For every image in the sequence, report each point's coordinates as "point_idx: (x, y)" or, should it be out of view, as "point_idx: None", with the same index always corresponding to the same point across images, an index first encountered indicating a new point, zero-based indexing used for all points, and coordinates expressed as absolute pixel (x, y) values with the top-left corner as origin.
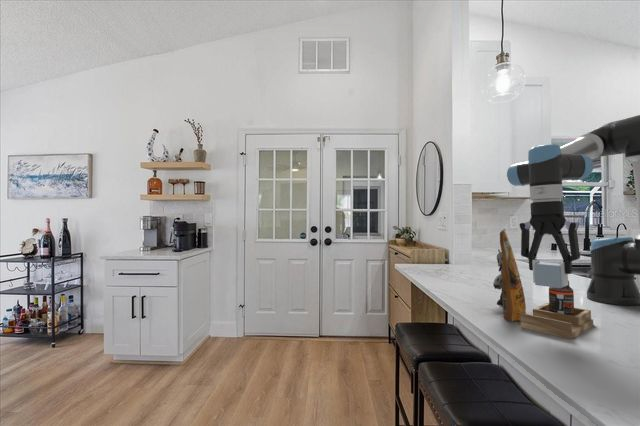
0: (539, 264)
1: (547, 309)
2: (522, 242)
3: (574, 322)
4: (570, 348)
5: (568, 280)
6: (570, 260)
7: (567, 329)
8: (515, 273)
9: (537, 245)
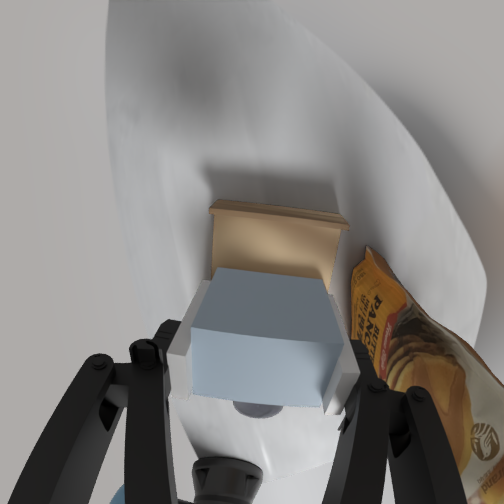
0: (311, 340)
1: None
2: (448, 466)
3: None
4: (205, 128)
5: (236, 409)
6: (131, 366)
7: (222, 205)
8: (407, 373)
9: (339, 475)
